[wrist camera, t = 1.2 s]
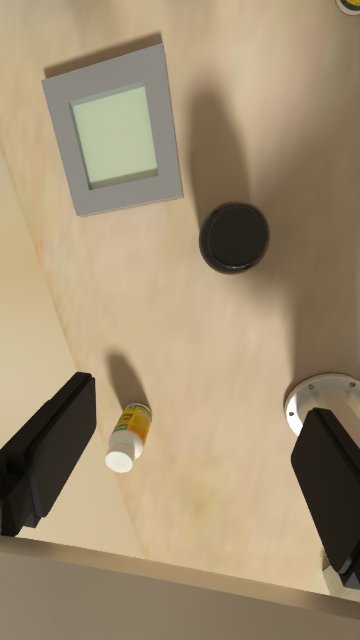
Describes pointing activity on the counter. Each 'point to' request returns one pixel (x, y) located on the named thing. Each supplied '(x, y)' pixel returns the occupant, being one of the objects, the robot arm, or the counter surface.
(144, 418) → the supplement bottle
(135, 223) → the counter surface
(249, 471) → the counter surface
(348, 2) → the supplement bottle
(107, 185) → the picture frame
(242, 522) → the counter surface
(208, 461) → the counter surface
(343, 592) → the skincare box
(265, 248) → the supplement bottle
